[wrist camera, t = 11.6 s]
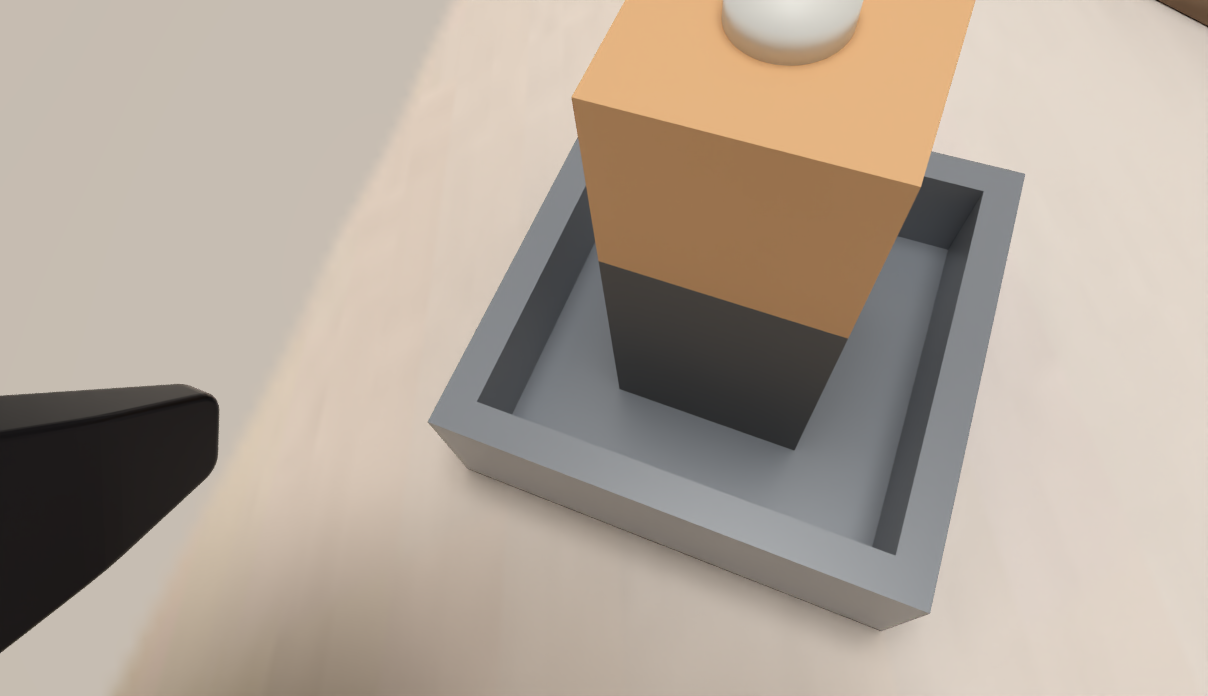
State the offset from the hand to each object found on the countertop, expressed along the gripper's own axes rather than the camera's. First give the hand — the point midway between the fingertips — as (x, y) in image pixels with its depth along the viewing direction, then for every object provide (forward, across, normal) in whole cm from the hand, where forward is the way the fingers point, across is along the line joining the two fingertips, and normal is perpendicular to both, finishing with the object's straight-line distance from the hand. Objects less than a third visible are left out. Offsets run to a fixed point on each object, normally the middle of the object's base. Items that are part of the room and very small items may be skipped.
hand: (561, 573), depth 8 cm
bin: (+13, 0, +2) cm, 13 cm away
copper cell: (+12, 0, +1) cm, 12 cm away
